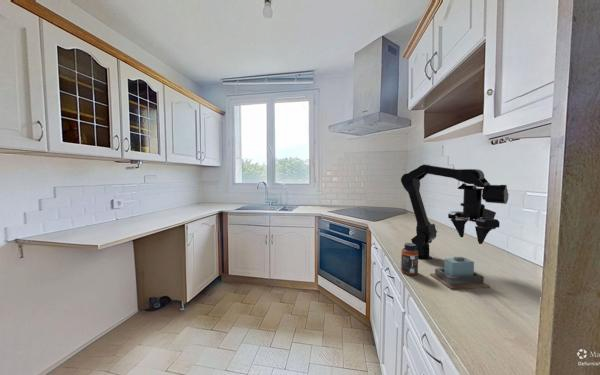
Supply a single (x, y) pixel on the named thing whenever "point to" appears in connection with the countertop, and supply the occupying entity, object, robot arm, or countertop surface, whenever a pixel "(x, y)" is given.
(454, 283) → the socket board
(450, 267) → the cabinet block
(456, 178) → the robot arm
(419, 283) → the countertop surface
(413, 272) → the supplement bottle
